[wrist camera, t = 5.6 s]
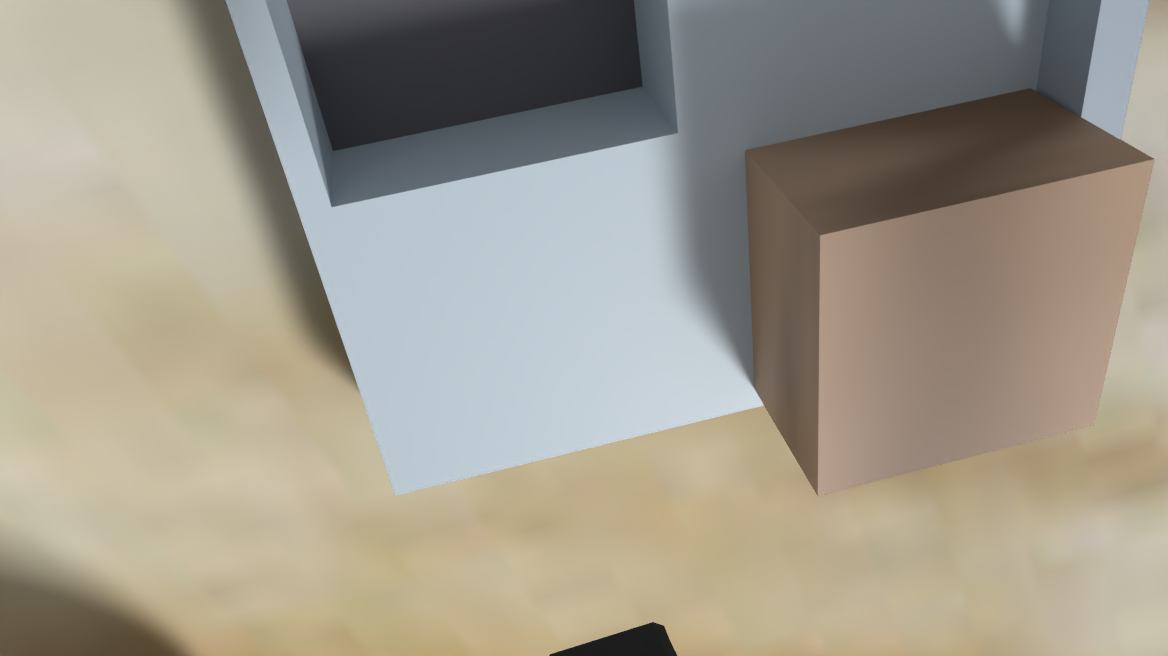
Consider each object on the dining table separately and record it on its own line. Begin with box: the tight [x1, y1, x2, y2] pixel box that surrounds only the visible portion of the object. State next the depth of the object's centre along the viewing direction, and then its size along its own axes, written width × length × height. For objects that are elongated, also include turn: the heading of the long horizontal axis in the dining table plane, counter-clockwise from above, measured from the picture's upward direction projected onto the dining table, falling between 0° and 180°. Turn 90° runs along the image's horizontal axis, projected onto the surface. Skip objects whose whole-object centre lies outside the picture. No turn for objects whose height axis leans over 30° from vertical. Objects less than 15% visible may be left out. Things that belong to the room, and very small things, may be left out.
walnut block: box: [745, 88, 1154, 496], centre depth 16 cm, size 5×5×3 cm
